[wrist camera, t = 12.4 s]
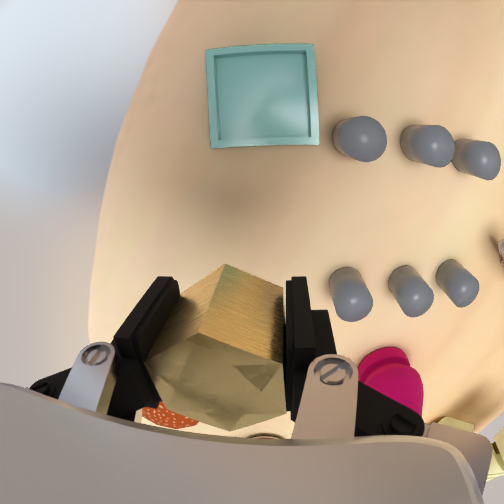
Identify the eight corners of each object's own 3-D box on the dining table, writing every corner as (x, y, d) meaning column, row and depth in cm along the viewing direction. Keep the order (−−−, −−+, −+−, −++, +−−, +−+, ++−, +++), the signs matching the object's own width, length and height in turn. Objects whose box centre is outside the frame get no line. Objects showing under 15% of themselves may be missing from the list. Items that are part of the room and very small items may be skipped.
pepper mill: (340, 373, 31) (363, 535, 12) (386, 333, 28) (445, 501, 10) (377, 392, 32) (408, 530, 14) (420, 357, 29) (475, 497, 11)
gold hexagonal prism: (174, 267, 11) (130, 330, 7) (280, 259, 10) (279, 330, 7) (199, 357, 13) (176, 426, 9) (288, 355, 12) (287, 431, 9)
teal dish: (209, 54, 20) (205, 49, 18) (311, 49, 19) (313, 43, 17) (214, 147, 23) (210, 148, 21) (316, 144, 22) (319, 144, 21)
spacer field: (331, 118, 21) (342, 114, 17) (476, 136, 20) (501, 139, 16) (327, 297, 27) (333, 322, 23) (455, 290, 26) (472, 310, 22)
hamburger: (194, 345, 31) (179, 388, 25) (220, 399, 34) (211, 440, 28) (127, 349, 33) (104, 386, 26) (157, 399, 36) (143, 435, 30)
